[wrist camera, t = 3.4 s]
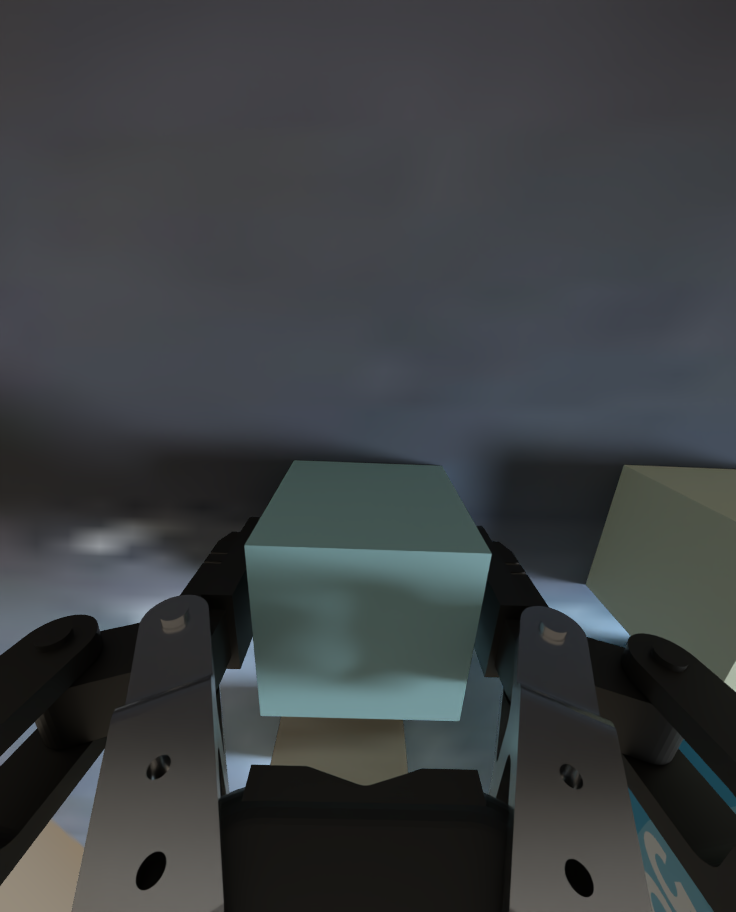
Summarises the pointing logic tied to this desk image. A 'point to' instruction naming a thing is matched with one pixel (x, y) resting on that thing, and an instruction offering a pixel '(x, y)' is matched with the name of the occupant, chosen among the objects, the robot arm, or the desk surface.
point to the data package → (667, 880)
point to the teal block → (365, 593)
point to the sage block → (673, 560)
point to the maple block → (343, 747)
